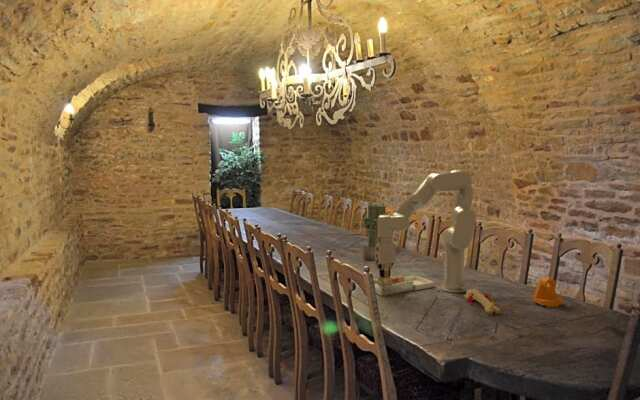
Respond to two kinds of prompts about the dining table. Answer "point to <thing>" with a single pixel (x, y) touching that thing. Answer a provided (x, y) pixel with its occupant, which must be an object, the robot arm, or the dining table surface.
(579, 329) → the dining table surface
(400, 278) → the chip
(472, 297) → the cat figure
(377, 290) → the channel
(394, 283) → the chip
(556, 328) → the dining table surface
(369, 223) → the religious sculpture
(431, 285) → the tray
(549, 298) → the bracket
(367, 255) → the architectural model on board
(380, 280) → the scraper
